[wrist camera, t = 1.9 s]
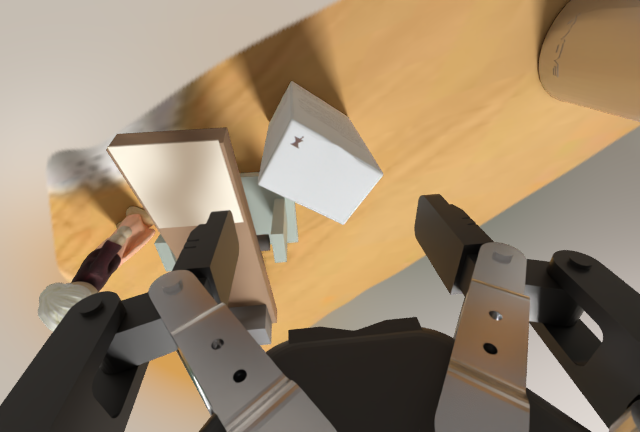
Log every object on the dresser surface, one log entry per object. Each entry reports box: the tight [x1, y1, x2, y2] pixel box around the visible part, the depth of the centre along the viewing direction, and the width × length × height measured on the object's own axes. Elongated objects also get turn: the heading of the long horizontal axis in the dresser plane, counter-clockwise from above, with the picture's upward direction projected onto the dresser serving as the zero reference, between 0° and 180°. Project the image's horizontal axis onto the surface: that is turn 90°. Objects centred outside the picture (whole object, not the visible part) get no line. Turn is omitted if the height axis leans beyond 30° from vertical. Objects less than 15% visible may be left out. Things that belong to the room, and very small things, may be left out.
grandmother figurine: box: [38, 206, 155, 331], centre depth 25 cm, size 8×4×13 cm, turn 147°
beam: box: [106, 128, 277, 345], centre depth 24 cm, size 7×23×5 cm, turn 2°
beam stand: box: [154, 172, 298, 272], centre depth 28 cm, size 12×8×7 cm, turn 92°
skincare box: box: [258, 81, 383, 225], centre depth 21 cm, size 6×4×12 cm
